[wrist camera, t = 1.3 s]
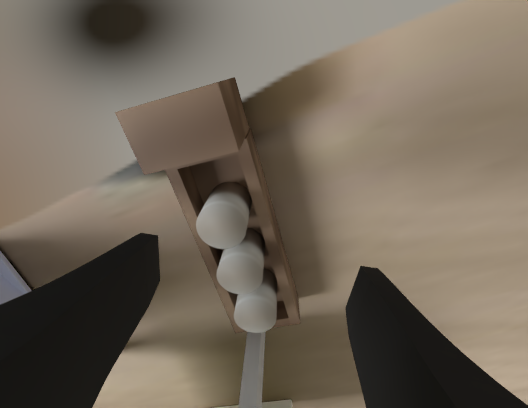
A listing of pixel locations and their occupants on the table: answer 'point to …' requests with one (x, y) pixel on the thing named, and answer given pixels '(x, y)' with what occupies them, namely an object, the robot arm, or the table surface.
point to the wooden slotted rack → (220, 198)
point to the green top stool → (255, 376)
